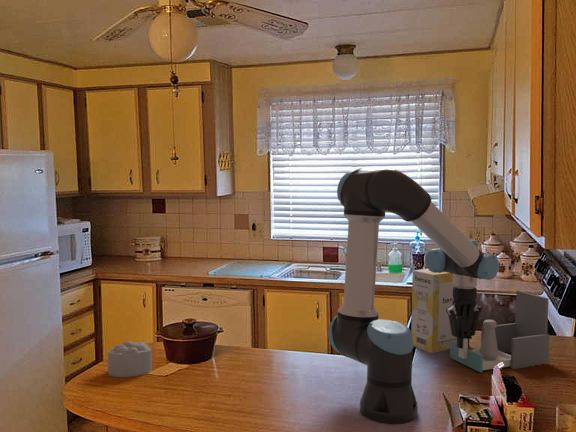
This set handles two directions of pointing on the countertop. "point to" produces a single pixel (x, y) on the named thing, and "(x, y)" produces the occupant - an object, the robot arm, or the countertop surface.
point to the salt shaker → (489, 341)
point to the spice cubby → (525, 332)
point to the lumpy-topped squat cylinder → (129, 359)
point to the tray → (478, 359)
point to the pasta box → (431, 310)
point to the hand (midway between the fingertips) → (462, 357)
